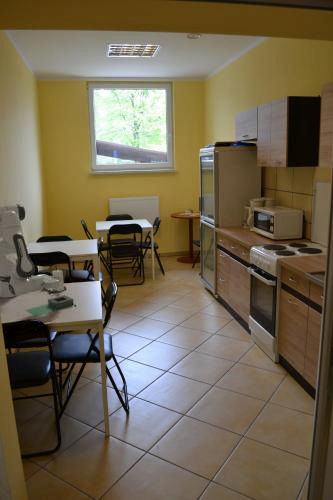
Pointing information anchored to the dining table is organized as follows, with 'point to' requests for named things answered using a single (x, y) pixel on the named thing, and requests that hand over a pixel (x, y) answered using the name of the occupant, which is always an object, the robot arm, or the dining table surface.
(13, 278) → the robot arm
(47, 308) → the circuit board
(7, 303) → the dining table surface
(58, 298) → the grey square tray
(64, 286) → the grey mechanical device
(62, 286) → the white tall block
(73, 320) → the dining table surface
